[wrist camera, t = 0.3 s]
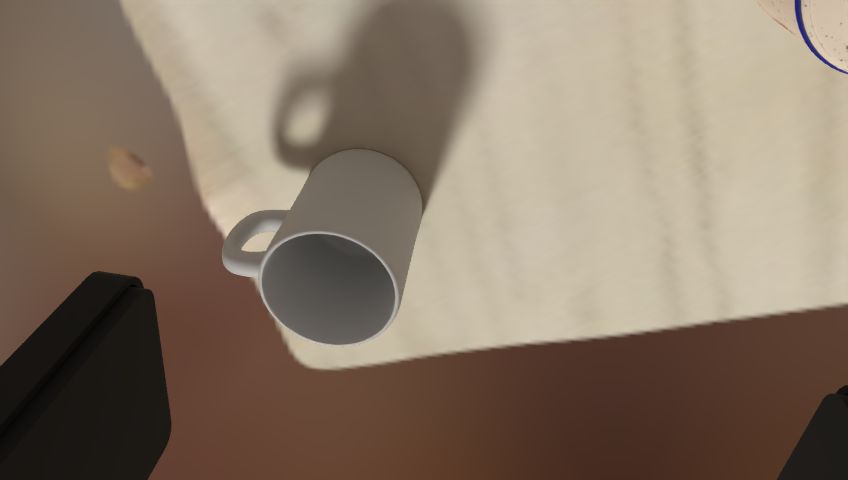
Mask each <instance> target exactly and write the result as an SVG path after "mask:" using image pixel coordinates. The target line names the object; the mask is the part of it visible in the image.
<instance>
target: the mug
mask: <svg viewBox="0 0 848 480" xmlns="http://www.w3.org/2000/svg"><path fill="white" fill-rule="evenodd" d="M421 218H422V199H421V194H420V191H419V188H418V186H417V184H416V182H415V180H414V179H413V177H412V176H411V174H410V173H409V172H408V171H407V170H406V169H405V168H404V167H403V166H402V165H401V164H400V163H398V162H397V161H395V160H394V159H392V158H391V157H389V156H387V155H385V154H382V153H379V152H376V151H372V150H366V149H350V150H344V151H340V152H337V153H335V154H333V155H331V156H329V157H327V158H326V159H324V160H323V161H322V162H320V163H319V164H318V165H317V166H316V167H315V168H314V170H313V171H312V172H311V174H310V176H309V177H308V179H307V180H306V182H305V184H304V186H303V188H302V190H301V192H300V193H299V195H298V197H297V199H296V200H295V202H294V204H293V206H292V207H291V209H290V210H264V211H258V212H255V213H252V214H250V215H248V216H247V217H245V218H244V219H242V220H241V221H240V222H239V223H238V224H237V225H236V226H235V227H234V228H233V229H232V230H231V232H230V233H229V235H228V236H227V238H226V240H225V243H224V246H223V250H222V259H223V263H224V265H225V267H226V268H227V269H228V270H229V271H230V272H232V273H235V274H238V275H242V276H248V277H256V278H258V281H259V289H260V293H261V296H262V299H263V301H264V303H265V305H266V307H267V309H268V310H269V311H270V313H271V314H272V315H273V317H274V318H275V319H276V320H277V321H278V322H279V323H280V324H281V325H282V326H284V327H285V328H286V329H288V330H289V331H290V332H292V333H293V334H295V335H297V336H299V337H301V338H303V339H305V340H307V341H310V342H313V343H317V344H321V345H326V346H336V347H344V346H353V345H358V344H362V343H365V342H367V341H370V340H372V339H374V338H375V337H377V336H379V335H380V334H381V333H383V332H384V331H385V330H386V329H387V328H388V327H389V326H390V324H391V323H392V322H393V320H394V318H395V317H396V315H397V312H398V310H399V307H400V304H401V299H402V295H403V291H404V287H405V283H406V278H407V274H408V270H409V266H410V261H411V257H412V253H413V249H414V245H415V241H416V237H417V234H418V230H419V227H420V223H421ZM263 232H277V233H276V234H275V236H274V238H273V239H272V241H271V243H270V245H269V246H268V248H267V250H266V251H263V252H247V251H242V250H241V249H242V247H243V246H244V244H245V243H246V242H247V241H248V240H249V239H250V238H251V237H253V236H255V235H256V234H259V233H263Z"/></svg>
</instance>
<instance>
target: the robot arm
mask: <svg viewBox="0 0 848 480" xmlns="http://www.w3.org/2000/svg"><path fill="white" fill-rule="evenodd" d="M170 432H171V416H170V408H169V401H168V394H167V387H166V379H165V372H164V365H163V358H162V351H161V343H160V336H159V329H158V322H157V314H156V308H155V300H154V295H153V293H152V291H151V290H149V289H144V287H143V284H142V282H141V280H140V279H139V278H137V277H133V276H127V275H120V274H113V273H107V272H101V271H97V272H93V273H92V274H91V275H89V276H88V277H87V278H86V279H85V280H84V281H83V282H82V283H81V284H80V285H79V286H78V287H77V288H76V289H75V290H74V291H73V292H72V293H71V294H70V296H68V298H67V299H66V300H65V301H64V302H63V303H62V304H61V305H60V306H59V307H58V308H57V309H56V310H55V311H54V312H53V313H52V314H51V315H50V316H49V317H48V318H47V319H46V320H45V321H44V322H43V323H42V324H41V325H40V326H39V327H38V328H37V329H36V330H35V331H34V332H33V334H32V335H31V336H30V337H29V338H28V339H27V340H26V341H25V342H24V343H23V344H22V345H21V346H20V347H19V348H18V349H17V350H16V351H15V352H14V353H13V354H12V355H11V356H10V357H9V358H8V359H7V360H6V361H5V362H4V363H3V364H2V365H1V366H0V480H148V478H149V476H150V474H151V473H152V471H153V469H154V467H155V466H156V464H157V462H158V460H159V459H160V457H161V455H162V453H163V452H164V450H165V448H166V446H167V443H168V440H169V437H170ZM777 480H848V386H844V387H842V388H840V389H839V390H838V391H837V393H836V394H829V395H827V396H826V397H825V398H824V399H823V400H822V402H821V404H820V406H819V407H818V409H817V411H816V412H815V414H814V416H813V418H812V419H811V421H810V423H809V425H808V426H807V428H806V430H805V431H804V433H803V435H802V437H801V439H800V440H799V442H798V444H797V446H796V447H795V449H794V451H793V452H792V454H791V456H790V458H789V459H788V461H787V463H786V464H785V466H784V468H783V470H782V471H781V473H780V475H779V477H778V478H777Z"/></svg>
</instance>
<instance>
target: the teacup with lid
mask: <svg viewBox="0 0 848 480" xmlns="http://www.w3.org/2000/svg"><path fill="white" fill-rule="evenodd" d="M756 2H757V3H758V5H759V6H760V7H761V9H762V10H763V11H764V12H765V13H766V14H767V15H768V16H770V17H771V18H772V19H773V20H775V21H776V22H778V23H779V24H780V25H782V26H783V27H785V28H786V29H788V30H789V31H790V32H792V33H793V34H795V35H796V36H797V37H799V38H800V39H802V40H803V41H804V42H805V43H806V44H807V46H808V47H809V48H810V50H811V51H812V52H813V53H814V54H815V55H816V56H817V57H818V58H819V59H820V60H821V61H823V62H824V63H825V64H827V65H828V66H830V67H832V68H834V69H836V70H838V71H840V72H843V73H846V74H848V0H756Z"/></svg>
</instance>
